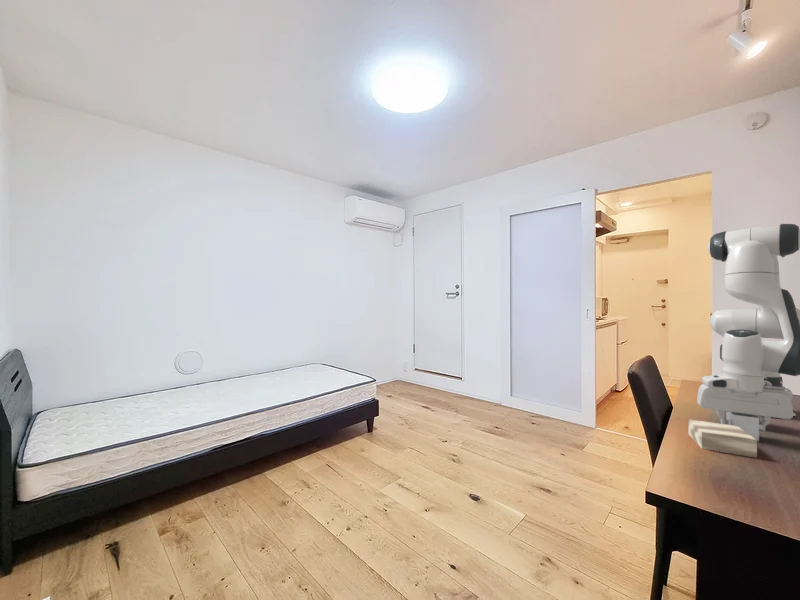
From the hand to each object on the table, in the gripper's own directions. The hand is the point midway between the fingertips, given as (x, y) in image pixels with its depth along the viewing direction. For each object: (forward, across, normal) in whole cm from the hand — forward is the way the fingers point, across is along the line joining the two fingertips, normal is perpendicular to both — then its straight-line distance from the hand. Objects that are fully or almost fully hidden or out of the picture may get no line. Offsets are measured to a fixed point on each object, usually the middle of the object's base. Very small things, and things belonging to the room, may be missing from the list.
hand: (742, 427), depth 97 cm
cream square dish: (+3, +8, +12) cm, 15 cm away
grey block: (+3, 0, 0) cm, 3 cm away
